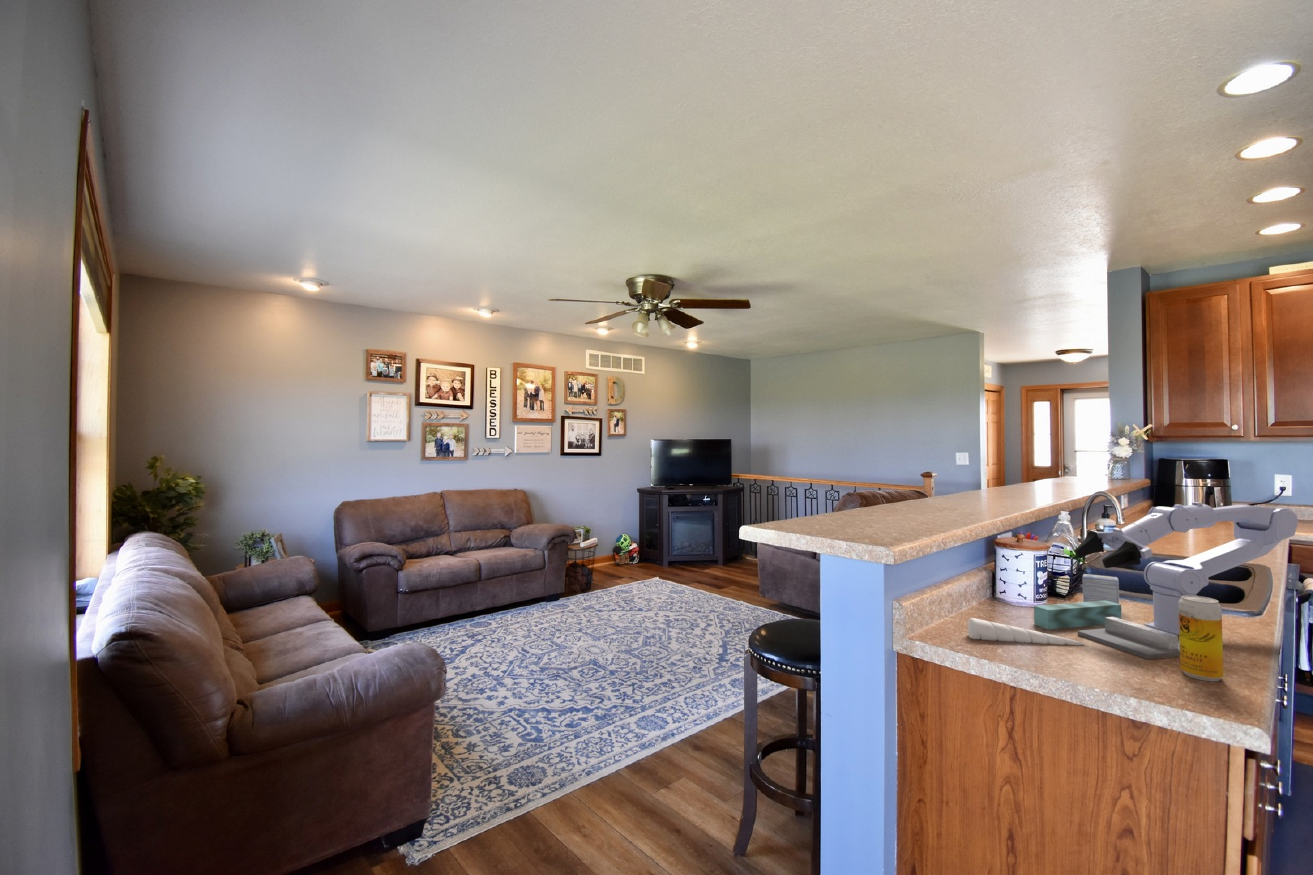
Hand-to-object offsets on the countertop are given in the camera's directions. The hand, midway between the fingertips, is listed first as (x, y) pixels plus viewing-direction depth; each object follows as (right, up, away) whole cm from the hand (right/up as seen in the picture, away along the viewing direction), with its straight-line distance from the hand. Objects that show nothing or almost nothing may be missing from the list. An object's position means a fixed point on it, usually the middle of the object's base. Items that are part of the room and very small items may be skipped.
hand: (1090, 558), depth 137 cm
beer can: (+1, -17, -27) cm, 32 cm away
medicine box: (+18, -18, +20) cm, 32 cm away
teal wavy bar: (+2, -18, +6) cm, 19 cm away
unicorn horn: (-20, -18, -6) cm, 28 cm away
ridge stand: (+5, -17, -8) cm, 20 cm away
